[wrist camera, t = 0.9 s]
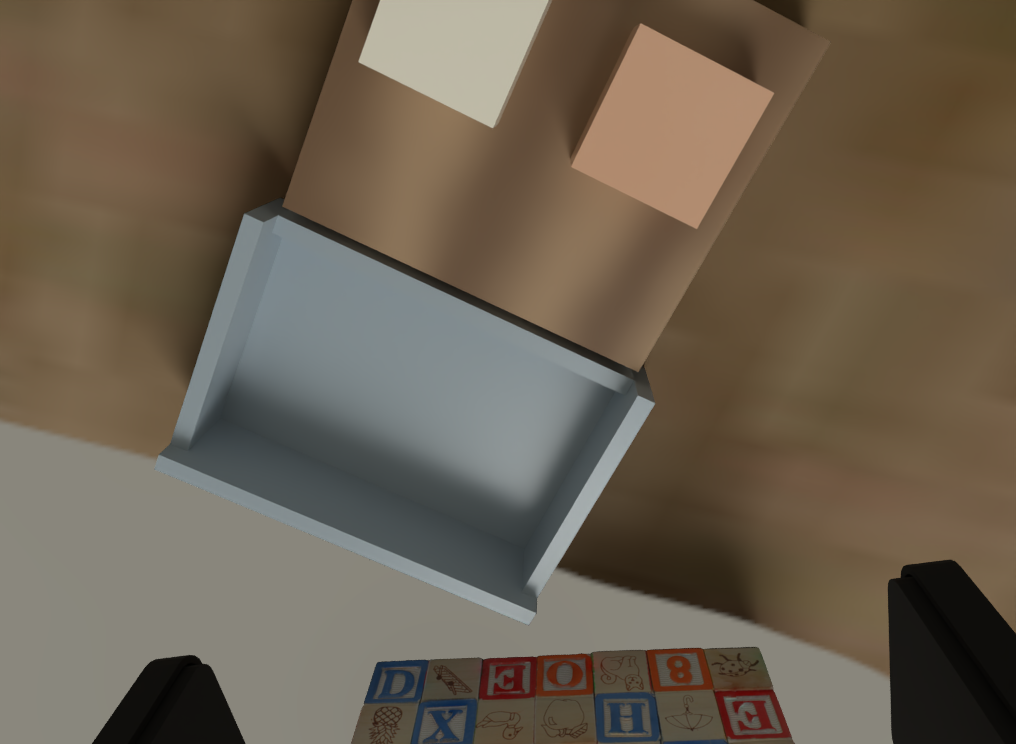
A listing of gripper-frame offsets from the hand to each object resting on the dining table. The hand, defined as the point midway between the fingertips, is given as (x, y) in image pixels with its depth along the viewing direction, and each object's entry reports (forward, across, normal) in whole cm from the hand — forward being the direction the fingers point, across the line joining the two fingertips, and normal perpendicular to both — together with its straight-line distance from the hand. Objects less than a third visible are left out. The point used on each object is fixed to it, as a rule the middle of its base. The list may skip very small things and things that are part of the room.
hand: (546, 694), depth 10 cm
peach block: (+21, -5, -5) cm, 23 cm away
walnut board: (+24, -1, -6) cm, 25 cm away
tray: (+24, +8, +5) cm, 26 cm away
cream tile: (+21, +1, -10) cm, 24 cm away
